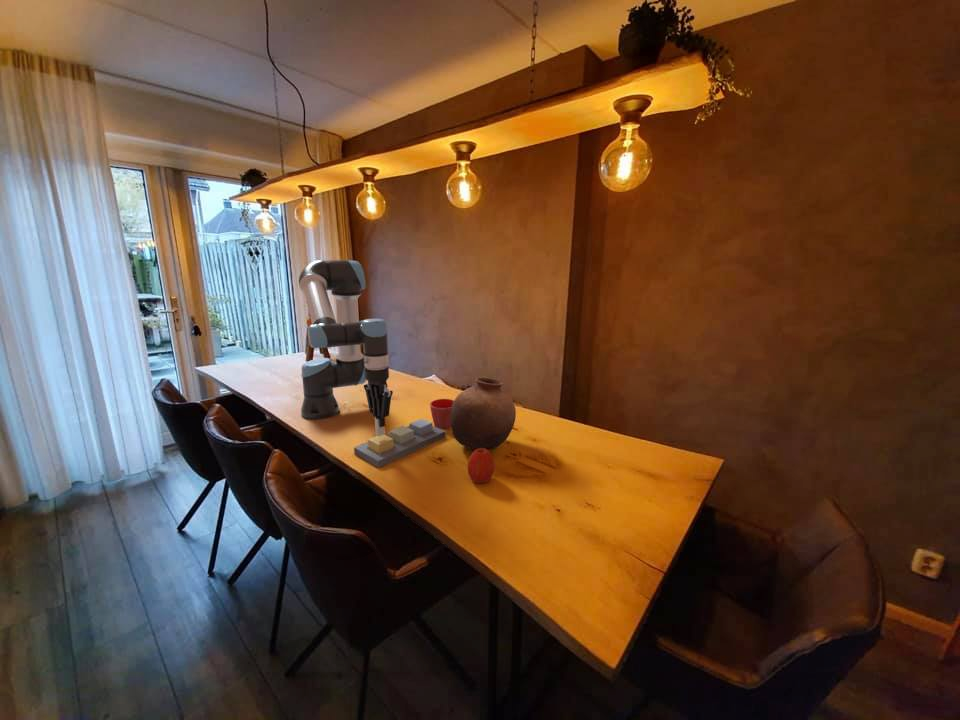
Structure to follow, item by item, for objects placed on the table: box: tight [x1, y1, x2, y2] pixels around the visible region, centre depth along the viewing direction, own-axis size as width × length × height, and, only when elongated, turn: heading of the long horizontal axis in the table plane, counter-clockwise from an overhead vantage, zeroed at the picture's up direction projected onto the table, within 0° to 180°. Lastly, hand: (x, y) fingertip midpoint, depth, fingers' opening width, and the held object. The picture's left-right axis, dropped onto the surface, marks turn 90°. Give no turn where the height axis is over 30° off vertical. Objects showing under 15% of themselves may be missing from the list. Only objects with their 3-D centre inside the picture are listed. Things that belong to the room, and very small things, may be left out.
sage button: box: [389, 425, 414, 445], centre depth 136 cm, size 6×6×4 cm
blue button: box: [409, 418, 433, 436], centre depth 143 cm, size 6×6×4 cm
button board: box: [353, 425, 447, 469], centre depth 136 cm, size 14×30×2 cm, turn 140°
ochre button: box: [367, 434, 394, 454], centre depth 129 cm, size 6×6×4 cm
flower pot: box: [429, 398, 455, 430], centre depth 153 cm, size 11×11×10 cm
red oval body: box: [467, 448, 496, 484], centre depth 114 cm, size 8×8×11 cm
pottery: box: [450, 377, 517, 451], centre depth 134 cm, size 23×23×25 cm
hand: (380, 434), depth 128 cm, fingers closed
